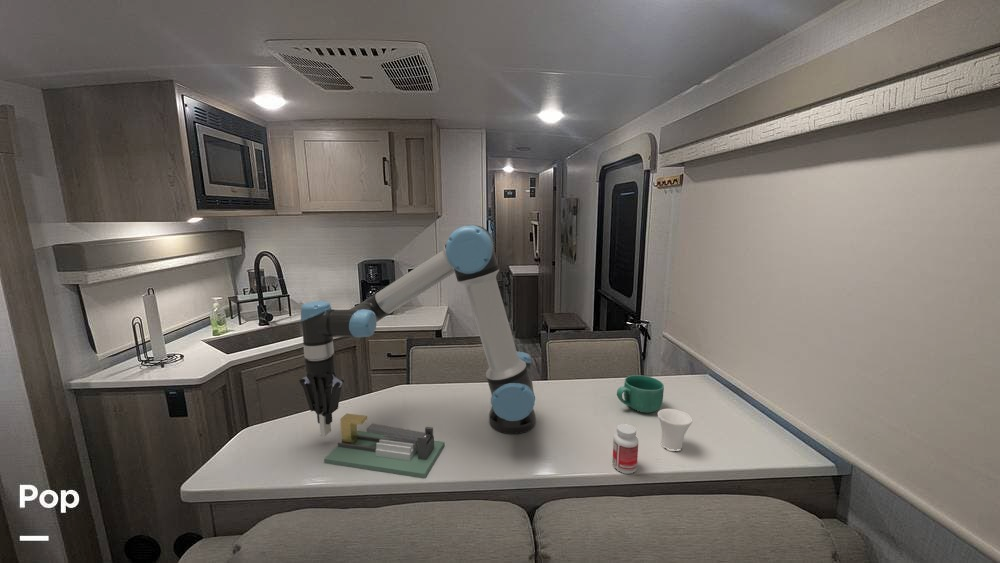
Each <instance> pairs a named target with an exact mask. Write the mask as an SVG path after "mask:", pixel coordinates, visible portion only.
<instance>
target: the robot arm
mask: <svg viewBox="0 0 1000 563" xmlns="http://www.w3.org/2000/svg"><path fill="white" fill-rule="evenodd" d="M493 238H494V237H493V236H492V234H491V233H490V232H489V231H488V229H486V228H484V227H483V226H480V225H474V224H473V225H472V224H468V225H463V226H461V227H458V228H457V229H455V230H453V232H452V233H451V234H450V236H449V237H448V239H447V242H446V244H444V245H443V250H441V251H440V252H438V253H437V254H435V255H433V256H432V257H430V258H429V259H427V260H426V261H424V262H423V263H420V264H419V265H417V266H416V267H415V268H414V269H412V270H409V272H408V273H407V272H406V274H404V275H402V276H401V277H399V278H398V279H396V280H395V281H393V282H391V283H390V284H388V285H386V286H385V287H383V289H380V290H379V291H378V292H376V293H375V294H373V295H371V296H370V297H368V298H367V299H365V300H364V301H362V302H360V303H359V304H356V305H355V306H353V307H351V308H348V309H332V306H331V303H330V302H329V301H325V300H315V301H310V302H306V303H303V304H302V305H301V307H300V322H301V332H302V339H303V340H302V342H303V343H302V344H303V355H304V356H303V357H304V358H305V359H304V368H305V371H306V372H305V373H306V375H305V376H304V377H302V378H301V379H299V383H300V385H301V386H302V388H303V392H304V395H305V398H306V401H307V404H308V408H309V411H310V412H315V414H316V418H317V424H319V432H320V436H322V437H326V436H327V435H328V434H330V433H331V432H332V423H333V413H334V412H336V411H337V410H338V409H339V404H340V399H341V398H340V396H341V392H342V386H343V385H344V383H345V380H344V379H339V378H338V377H337V374H336V372H335V367H336V362H335V361H336V360H335V355H334V353H335V349H334V337H336V338H340V337H341V338H359V339H360V338H365V337H366V338H368V337H371V336H372V335H374V334H375V331H376V329H377V323H378V322H379V321H381V320H382V319H383V318H385V317H386V316H388V315H390V314H391V313H393V312H395V311H396V310H398V309H399V308H401V307H403V306H404V305H405V304H407V303H409V302H410V301H412V300H413V299H415V298H417V297H418V296H420V295H421V294H423V293H425V292H426V291H428V290H430V289H431V288H433V287H434V286H436V285H437V284H438V285H439V283H440V282H443V281H444V280H445V279H447V278H448V277H449V278H450V276H452V275H453V274H454V275H455V278H456V280H457V283H458V284H461V285H463V286H464V287H465V291H466V294H467V297H468V302H469V305H470V308H471V310H472V313H473V317H474V320H475V324H476V328H477V331H478V334H479V337H480V341H481V345H482V348H483V351H484V354H485V358H486V361H487V365H488V369H487V370H486V372H485V377H486V380H487V383H488V384H487V385H488V386H489V390H490V394H491V397H490V404H491V408H490V411H489V414H488V421H489V422H488V423H489V425H490V427H491V428H493V430H495V431H497V432H500V433H503V434H507V435H518V434H523V433H527V432H529V431H531V430H532V429H533V428H534V427H535V426H536V423H537V421H536V419H537V418H536V413H535V410H534V407H535V401H536V394H535V392H534V386H533V378H532V358H531V355H530V354H529V353H527V352H522V351H519V350H518V351H517V348H516V344H515V340H514V337H513V333H512V330H511V327H510V322H509V320H508V316H507V312H506V308H505V305H504V302H503V298H502V295H501V291H500V287H499V285H498V284H499V283H498V281H497V275H498V273H499V271H500V267H499V264H498V263H499V262H498V259H497V256H496V253H495V243H494V239H493Z"/></svg>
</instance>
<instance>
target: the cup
mask: <svg viewBox="0 0 1000 563" xmlns="http://www.w3.org/2000/svg"><path fill="white" fill-rule="evenodd" d="M657 417H658V420H659V422H660V427H661V439H660V444H661V443H662V445H663V446H665V447H667V448H669V449H674V450H677V449H681V448H682V449H683V443H684V439H685V435H686V433H687V431H688V429H689V427H690V426H692V424H693V419H692V416H690V414H688V413H687V412H684V411H682V410H680V409H675V408H663V409H659V410H658V411H657ZM662 445H661V446H662Z"/></svg>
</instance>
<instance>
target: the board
mask: <svg viewBox="0 0 1000 563" xmlns="http://www.w3.org/2000/svg"><path fill="white" fill-rule="evenodd" d="M426 432H430V433H431V437H430V438H429V440H428V441H427V443H426V437H424V436H419V437H418V441H413V440H408V439H402V438H397V437H391V436H386V435H380V434H375V433H369V432H367V431H365V430H357V435H358V440H357V441H356V442H355V443H354V444H347V443H342V441H341V442H337V446H336V447H335V448H334V449H333V450H331V452H329V453H328V455H326V456H325V457H324V458H323V462H324V463H323V464H329V465H336V466H344V467H350V468H356V469H363V470H369V471H370V470H371V471H376V472H381V473H389V474H396V475H402V476H409V477H413V478H414V477H415V478H422V479H426V477H427V475H428V474H429V472H430V471H431V469H432V467H433V466H434V464H435V462H436V461H437V459H438V457H439V456H440V454H441V452H442V450H443V449H444V447H445V441H440V440H435V436H434V427H433V426H425V427H424V433H426Z"/></svg>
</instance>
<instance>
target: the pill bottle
mask: <svg viewBox="0 0 1000 563" xmlns="http://www.w3.org/2000/svg"><path fill="white" fill-rule="evenodd" d="M636 435H637V429H636V428H635V426H633V425H630V424H626V423H620V424H618V425H617V427H616V432H615V433H614V435H613V442H612V460H611V461H612V463H613V464H612V467H613V468H614V469H615V468H616V469H617V470H616V469H615V470H616V471H618V472H619V471H620V472H619V473H621V472H622V474H625V475H628V474H629V475H630V474H633V472H634V473H635V472H636V471H637V469H638V457H639V456H638V454H639V453H638V452H639V439H638V437H637V436H636Z"/></svg>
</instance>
